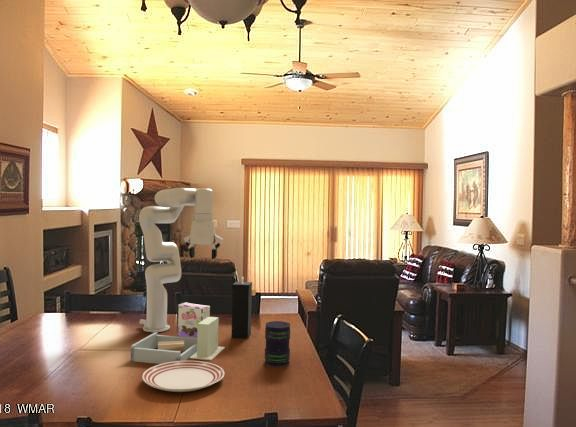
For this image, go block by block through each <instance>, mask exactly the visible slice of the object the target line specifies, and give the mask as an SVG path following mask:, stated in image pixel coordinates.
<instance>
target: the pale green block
mask: <svg viewBox="0 0 576 427" xmlns="http://www.w3.org/2000/svg"><path fill="white" fill-rule="evenodd" d="M219 319H220V318H219V317H216V316H210V317H207V318H206V319H204V320H203V321H201V322H199V323H198V327H197V356H200V357H208V356H210V355H211V354H212V353H213V352H214V351H215V350H216V349H217V348H218V346H219V322H220V320H219Z"/></svg>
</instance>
